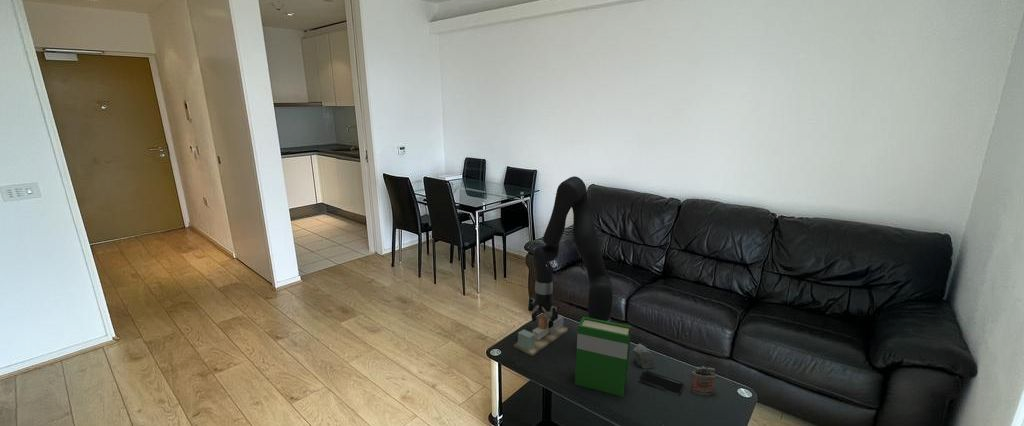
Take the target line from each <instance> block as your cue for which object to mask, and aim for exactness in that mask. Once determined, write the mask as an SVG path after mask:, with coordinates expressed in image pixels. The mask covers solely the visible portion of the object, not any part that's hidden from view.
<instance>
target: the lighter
mask: <svg viewBox="0 0 1024 426" xmlns="http://www.w3.org/2000/svg"><path fill="white" fill-rule="evenodd" d="M715 371H716V369H715V368H714V367H705V365H702V366H701V367H700V366H696V367H695V370H692V371H691V375H692V376H691V383H690V387H689V392H691V393H693V394H696V395H703V396H713V395H714V393H715V392H714V390H715V383H716V378H717V375H716V372H715Z"/></svg>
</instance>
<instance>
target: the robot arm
mask: <svg viewBox="0 0 1024 426" xmlns="http://www.w3.org/2000/svg"><path fill="white" fill-rule="evenodd" d="M570 210H572V214H573V215H572V216H573V218H572V219H573V220H572V221H573V225H572V226H573V227H572V233H573V240H574V243H575V247H576V249H577V252H578V254H579V257H580V258H581V260H582V262H583V264H584V266H585V269H586V273H587V278H588V283H589V287H588V300H587V301H588V302H587V304H588V305H587V318H592V319H597V320H602V321H607V322H611V317H612V311H613V310H612V309H613V300H614V299H613V297H614V290H613V288H614V287H613V284H612V281H611V278H610V276H609V274H608V272H607V269H606V265H605V263H604V259H603V250H602V247H601V243H600V239H599V236H598V232H597V228H596V225H595V222H594V217H593V215H592V211H591V208H590V201H589V197H588V190H587V186H586V183H585V182H584V181H583V179H582V178H580V177H579V176H577V175H576V176H570V177H568V178H567V179H565V180H564V181H562V182H561V183H560V184H559V185H558V187H557V189H556V193H555V197H554V203H553V208H552V212H551V216H550V219H549V221H548V224H547V226H546V228H545V231H544V234H543V237H542V241H543V243H544V244H545V245H541V246H539V247H536V248H535V249H534V251H533V253H532V259H533V263H534V268H535V272H536V275H535V284H534V285H535V286H534V297H533V296H532V297H531V298H529V299H528V309H527V310H528V312H530V313H531V320H532V322H534V323H535V322H536V321H537V318H538V317H537V312H540V313H542V314H544V315H546V316H547V317H548V319H549V321H548V328H551V327H553V321H555V320H556V319H558V314H559V307H558V306H554V305H552V303H553V289H554V287H553V285H554V284H553V279H554V277H553V275H554V273H553V272H554V271H553V269H552V267H551V266H549V265H547V263H550V262H553V261H555V260H556V258H557V257H558V255H559V249H560V242H561V239H562V237H563V235H564V232H565V229H566V222H567V217H568V214H569V212H570ZM550 316H551V317H550Z"/></svg>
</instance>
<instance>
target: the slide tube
mask: <svg viewBox="0 0 1024 426" xmlns="http://www.w3.org/2000/svg"><path fill="white" fill-rule="evenodd" d="M537 324H538V326H537V327H536V328H534V329H533V330H532V331H531V333H533V334H535V339H537V340H540V339H541V338H542V337H544V336H545V335H547V334H548V333H550V328H548V317H547V316H546V315H545V314H544V313H542V314H540V315H538V323H537Z"/></svg>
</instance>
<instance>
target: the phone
mask: <svg viewBox="0 0 1024 426" xmlns="http://www.w3.org/2000/svg"><path fill="white" fill-rule="evenodd" d="M638 382H639V383H640V384H642V385H645V386H648V387H651V388H654V389H657V390H659V391H662V392H664V393H665V392H666V393H668V394H669V395H670V394H671V395H674V396H676V397H681V395H682V394H683V390H684V388H685V383H684V382H683V381H682V382H681V381H678V380H676V379H673V378H669V377H666V376H663V375H660V374H657V373H654V372H652V371H648V370H643V371H642V373H641V375H640V377H639V379H638Z"/></svg>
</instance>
